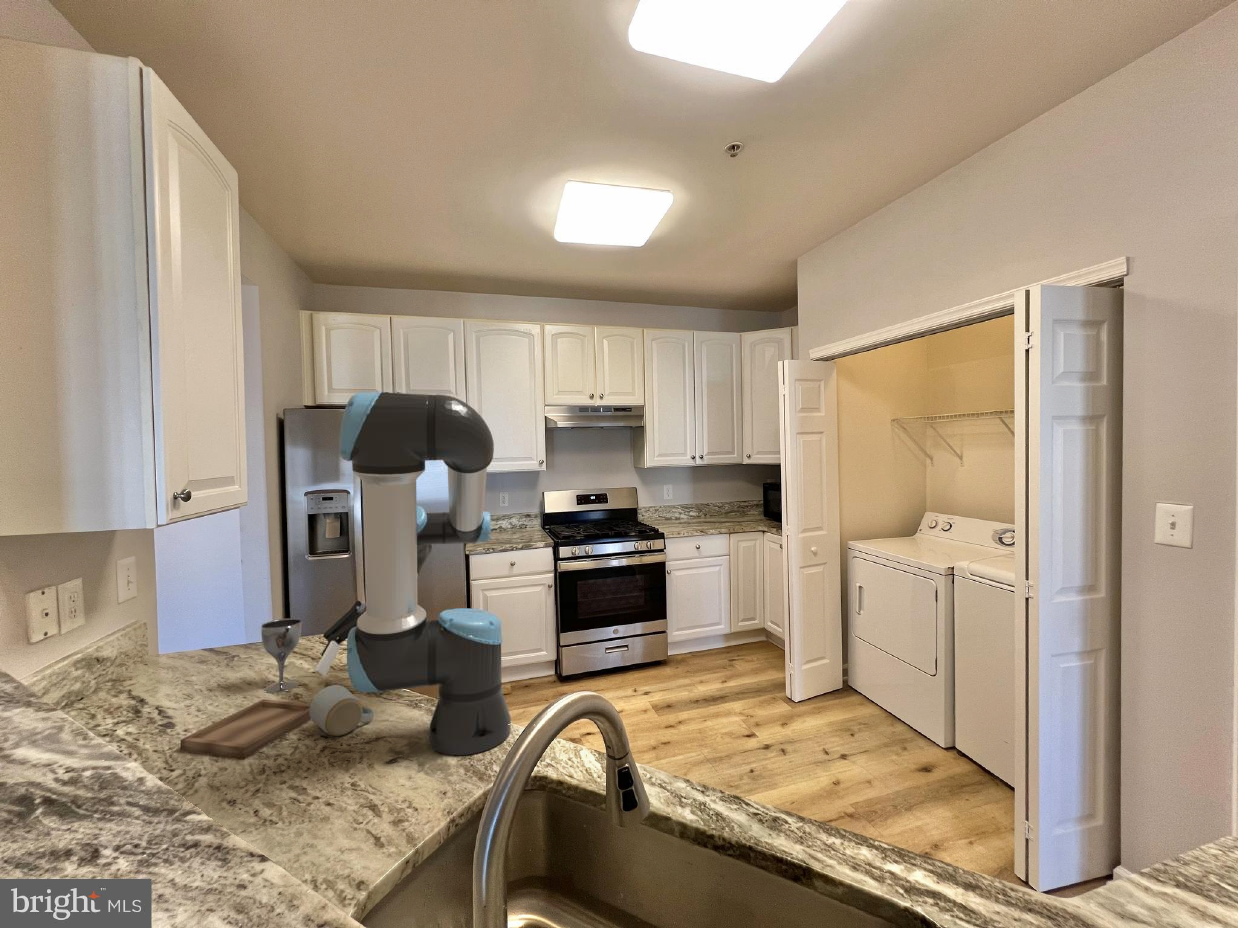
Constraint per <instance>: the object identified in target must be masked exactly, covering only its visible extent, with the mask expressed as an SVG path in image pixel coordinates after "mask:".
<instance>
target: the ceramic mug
mask: <svg viewBox="0 0 1238 928" xmlns="http://www.w3.org/2000/svg"><path fill="white" fill-rule="evenodd" d="M309 704H310V708H309V715H310V718H311V720H310V721H311V722H312V723H314V724H315V725H316V726H317V727H319V728H320V729H321V730H322V731H323V732H324V733H326V734H328V735H330V736H334V737H340V736H343V735H346V734H349V733H351V732H352V731H353V730H354V729H355V728H356V727H357V726H358V724H359V723H369V722H371V721H373V718H374V716H375V712H374V710H372V709H371V708H368V707H366V706H363V705H362V703H361V701H360V700H359V699H358V697H357V696H355V695H354V694H353V693H352V692H351V691H350V690H349V689H347V687H344V686H343V685H341V684H340V685H339V684H333V685H329V686H326V687H325V688H323V689H321V690H319V692H317V693H316V695H315V696H314V697H313V699H312V700H311V702H310V703H309Z"/></svg>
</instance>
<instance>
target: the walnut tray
mask: <svg viewBox="0 0 1238 928" xmlns="http://www.w3.org/2000/svg"><path fill="white" fill-rule="evenodd" d="M310 704H311V703H303V702H293V701H283V700H274V699H260V700H259V701H258V702H254V703H253V704H251V705H249V706H247V707H245V708H243V709H241V710H238V711H237V712H235V713H232V714H230V715H228V716H226V717H224V718H222V719H221V720H219V721H216V722H214V723H211V724H210V725H208V726H206V727H204V728H201V729H200V730H197V731H195V732H193V733H191V734H190V735H187V736H186V737H184V738H181V739H180V752H186V753H187V752H188V753H194V754H200V755H201V754H202V755H211V756H217V757H224V758H225V757H226V758H232V759H233V758H234V759H241V760H246V759H247V758H249V757H251V756H252V755H255V754H256V753H257V752H259V751H260V750H259V749H261V748H263V747H264V746H266V745H268V744H269V743H271V742H273V741H274V740H276V739H278V738H279V739H281V738H282V736H283V737H284V736H286V735H287V734H286V733H288V734H290V733H291V732H293V731H295V730H296V729H298V728H300V727H301V726H302V725H304V723H305V724H306V723H308V722H309V721H312V720H311V718H310V715H309V708H310ZM299 726H300V727H299ZM295 728H296V729H295ZM294 729H295V730H294ZM292 730H293V731H292ZM290 731H291V732H290ZM285 734H286V735H285ZM280 737H281V738H280ZM279 739H278V740H279ZM276 741H277V740H276ZM274 742H275V741H274ZM274 742H273V743H274ZM271 744H272V743H271ZM269 745H270V744H269ZM269 745H268V746H269ZM266 747H267V746H266ZM264 748H265V747H264ZM264 748H263V749H264ZM258 750H259V751H258ZM261 750H262V749H261ZM256 751H257V752H256ZM255 752H256V753H255Z"/></svg>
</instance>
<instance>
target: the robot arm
mask: <svg viewBox="0 0 1238 928" xmlns="http://www.w3.org/2000/svg"><path fill="white" fill-rule="evenodd" d="M342 416H343V417H342V419H341V426H340V434H339V449H340V452H339V453H340V457H341V459H342V460H343V461H347V462H350V461H351V464H352V466H351V469H352V470H351V471H352V473H353V474H354V475H356V476H357V478H359V479H360V480H361V481H362V497H363V498H362V504H363V506H362V508H363V536H364V537H363V538H364V539H363V541H364V543H363V546H364V574H365V575H364V576H365V577H364V580H365V582H364V583H365V603H363V602H361V600H356V601H355V602H354V604H353V605H352V607H351V608H350V609H349V610H348V611H347V612H346V613H345V614H344V615H343V616H342V617H340V618H339V619H338V620H337V621H336V622H335V623H334V624H333V625H331V627H329V628H328V629H327V630H326V631H325V632H323V634H322V637H323V638H324V639H325V640H326V641H327V644H326V645H325V646H324V648H323V650H322V652H321V654H320V656H321V658H320V660H319V662H318V663H317V665H316V666H315V668H314V671H315V672H316V673H317V674H318V675H319V676H321V677H326V676H327V673H328V671H329V669H330V668H331V665H332V664H333V662H334V660H335V658H336V657H337V655H338V653H339V651H340V650H341V648H342V646H341V645H340V644H342V643H343V642H344V641H346V667H347V671H348V676H349V681H350V683H351V685H352V687H353V688H354V689H355V690H357V691H358V692H359V693H363V694H364V693H365V694H366V693H368V694H369V693H379V694H381V693H383V694H384V693H386V692H389V691H398V690H406V689H415V688H421V687H422V688H423V687H432V686H438V697H437V701H436V704H435V708H434V711H433V714H432V717H431V720H430V723H429V727H428V744H429V746H430V747H431V749H433V750H434V751H436V752H438V753H441V754H444V755H451V756H464V755H465V756H467V755H473V754H477V753H482V752H484V751H489V750H491V749H492V748H495V747H497V746H498V745H500V744H502V743H503V742H504V741H506V739H507V738H508V737H509V736H510V733H511V731H512V730H511V729H512V728H511V724H512V723H511V720H512V719H511V714H510V711H509V708H508V704H507V701H506V700H505V696H504V694H503V691H502V690H503V689H502V685H503V684H502V643H503V640H504V639H503V635H502V623H501V622H502V621H501V620H500V618H499V617H498V616H497V615H496V614H495V613H492V612H490V611H486V610H483V609H477V608H466V607H465V608H453V609H445V610H442V611H441V612H440V613H439V616H438V617H437V619H436V620H435V619H434V620H427V612H426V609H424V608H423V607H422V606H421V605H419V604H418V601H419V600H418V578H419V576H420V573H421V571H422V569H423V567H424V565H425V564H426V562H427V559H428V558H429V556H430V555H431V553H432V550H433V547H434V545H451V544H455V545H456V544H457V545H458V544H477V543H487V542H488V541H489V540H490V539H491V533H492V532H491V531H492V527H491V526H492V519H491V517H492V516H491V514H490V512H488V511H484V509H485V497H486V484H487V470H488V467H489V466H490V465H491V464H492V461H493V458H494V452H495V451H494V450H495V449H494V448H495V446H494V445H495V442H494V438H493V434H492V432H491V430H490V427H489V426H488V425H487V422H486V421H485V419H484V418H483V417H482V416H481V414H479V412H478V411H477V410H476V409H475V408H473V407H472V406H470V405H469V404H468V403H467V402H465V401H463V400H461V399H459V398H457V397H456V396H455V397H454V396H451V395H447V394H438V393H437V394H428V393H427V394H425V393H424V394H423V393H405V392H404V393H403V392H384V391H374V392H373V391H372V392H370V391H369V392H365V391H364V392H358V393H355V394H353V395H352V396H351V397H350V398H349V400H348V401H347V403H346V405H345V409H344V412H343V415H342ZM426 461H443V463H444V464H445V466H446V467H447V488H448V492H447V493H448V512H445V511H443V512H426V511H425V509H424V508H423V507H422V506H419V505H418V504H417V479H418V478H419V477H421V476H422V475H423V473H425V471H426ZM508 724H510V725H508Z"/></svg>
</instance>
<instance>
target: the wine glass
mask: <svg viewBox="0 0 1238 928" xmlns="http://www.w3.org/2000/svg"><path fill="white" fill-rule="evenodd" d="M260 628H261V629H260V630H261V634H260V635H261V641H262V646H263V649H264V651H266V653H268V654H269V655H270V656H271V657H272V658H273V659H274V660H276V663H277V665H278V675H279V676H278V677H279V678H278V681H277V682H273V683H270V684H271V685H270V684H269V686H268V685H267V687H266V686H265V687H266V688H265V687H264V688H265V689H264V688H263V689H264V691H266V694H276V693H282V692H283V691H284V692H287V691H290V690H293V689H295V688H297V687H298V686H299V684H300V682H299V681H298V680H292V679H291V680H284V668H285V663H286V660H287V658H288V657H289V656H290V655H291V653H293V651H294V650H295V649H296V648H297V646H298V644H299V642H300V640H301V639H300V638H301V633H302V619H300V618H294V617H293V618H292V617H291V618H281V619H275V620H271V621H267V622H265V623H263V624H262V625H261V627H260ZM292 688H293V689H292Z"/></svg>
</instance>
